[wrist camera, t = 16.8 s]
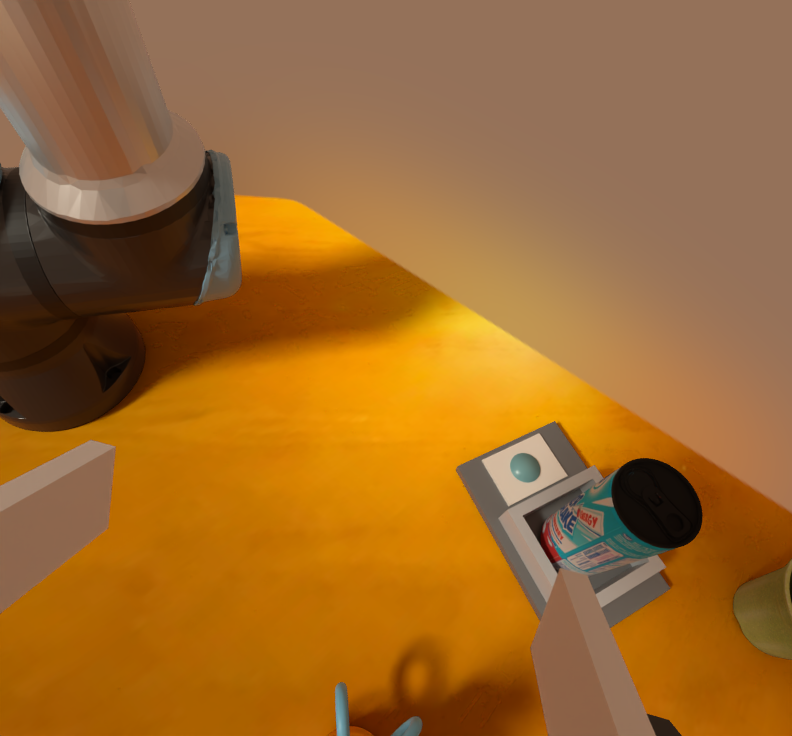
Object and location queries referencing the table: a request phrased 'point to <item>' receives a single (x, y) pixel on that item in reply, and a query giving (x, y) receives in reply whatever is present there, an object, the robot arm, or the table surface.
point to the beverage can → (623, 519)
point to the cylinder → (406, 732)
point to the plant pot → (767, 612)
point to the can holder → (530, 507)
